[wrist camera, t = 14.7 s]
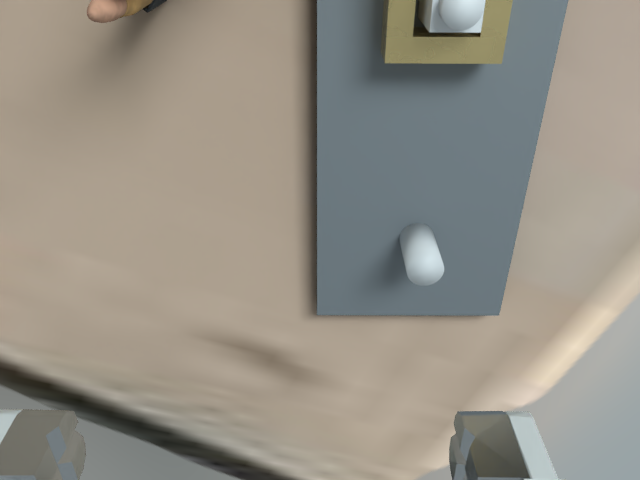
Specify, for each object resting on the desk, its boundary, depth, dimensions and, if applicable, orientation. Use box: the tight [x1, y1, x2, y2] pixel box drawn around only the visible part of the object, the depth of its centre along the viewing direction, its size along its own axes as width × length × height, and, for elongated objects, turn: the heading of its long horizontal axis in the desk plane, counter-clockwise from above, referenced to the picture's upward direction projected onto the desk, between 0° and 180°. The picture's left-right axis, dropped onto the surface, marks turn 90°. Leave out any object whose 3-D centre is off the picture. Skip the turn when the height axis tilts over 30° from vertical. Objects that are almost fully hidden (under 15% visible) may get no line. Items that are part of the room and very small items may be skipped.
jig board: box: [317, 0, 568, 315], centre depth 33 cm, size 14×32×6 cm, turn 0°
